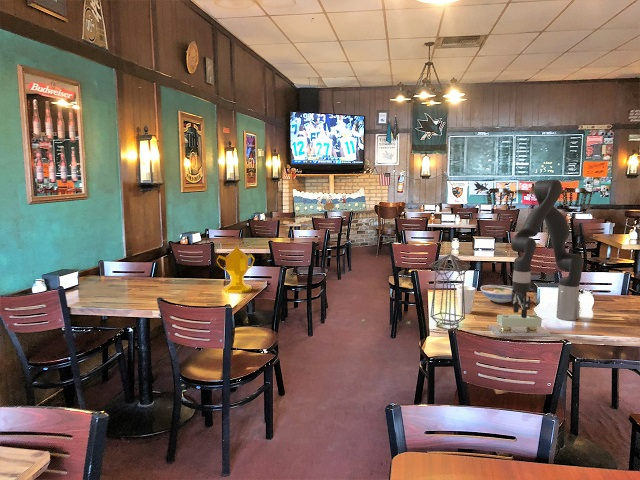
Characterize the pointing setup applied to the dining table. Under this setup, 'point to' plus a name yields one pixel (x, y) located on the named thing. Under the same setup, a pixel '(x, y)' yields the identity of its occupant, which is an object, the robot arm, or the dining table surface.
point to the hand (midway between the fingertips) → (519, 315)
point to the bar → (519, 321)
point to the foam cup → (466, 298)
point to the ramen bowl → (497, 293)
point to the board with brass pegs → (518, 331)
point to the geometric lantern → (450, 287)
